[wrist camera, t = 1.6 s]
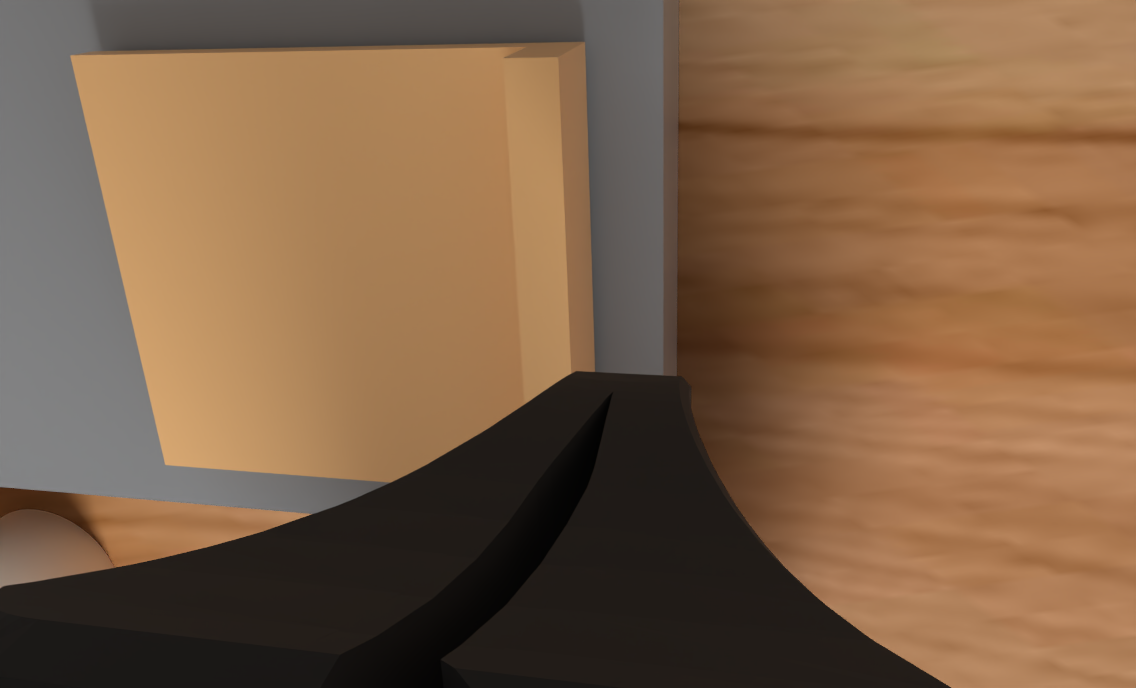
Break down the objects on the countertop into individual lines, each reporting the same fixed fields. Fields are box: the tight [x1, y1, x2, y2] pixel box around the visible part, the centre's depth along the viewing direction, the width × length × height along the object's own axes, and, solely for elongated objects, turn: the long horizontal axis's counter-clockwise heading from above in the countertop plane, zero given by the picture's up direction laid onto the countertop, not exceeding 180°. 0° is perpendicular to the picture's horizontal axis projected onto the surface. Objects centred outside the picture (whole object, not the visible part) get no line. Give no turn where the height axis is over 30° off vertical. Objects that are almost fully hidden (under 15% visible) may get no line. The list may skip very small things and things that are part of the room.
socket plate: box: [0, 0, 679, 514], centre depth 20 cm, size 19×11×2 cm, turn 92°
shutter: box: [70, 42, 595, 483], centre depth 17 cm, size 9×8×2 cm
